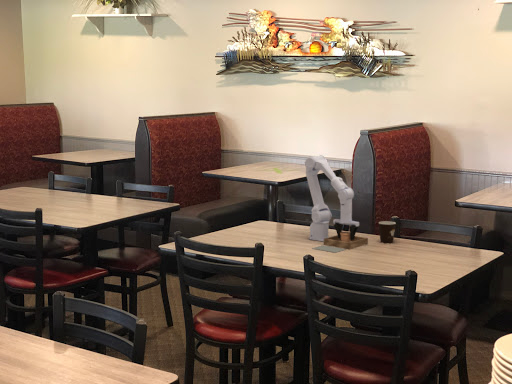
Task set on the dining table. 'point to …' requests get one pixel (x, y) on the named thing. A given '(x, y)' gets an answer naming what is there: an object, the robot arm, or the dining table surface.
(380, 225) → the coffee mug
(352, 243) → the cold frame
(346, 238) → the terracotta pot
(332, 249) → the rubber mat
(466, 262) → the dining table surface
